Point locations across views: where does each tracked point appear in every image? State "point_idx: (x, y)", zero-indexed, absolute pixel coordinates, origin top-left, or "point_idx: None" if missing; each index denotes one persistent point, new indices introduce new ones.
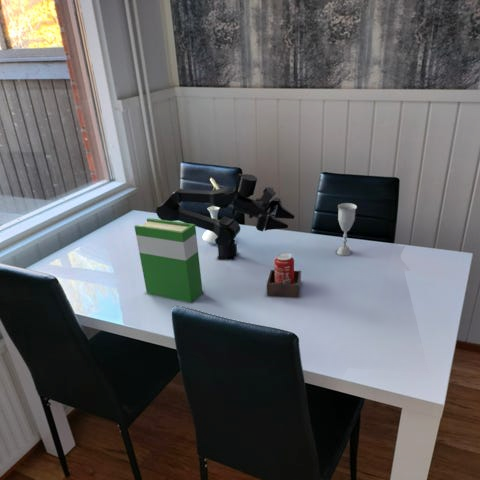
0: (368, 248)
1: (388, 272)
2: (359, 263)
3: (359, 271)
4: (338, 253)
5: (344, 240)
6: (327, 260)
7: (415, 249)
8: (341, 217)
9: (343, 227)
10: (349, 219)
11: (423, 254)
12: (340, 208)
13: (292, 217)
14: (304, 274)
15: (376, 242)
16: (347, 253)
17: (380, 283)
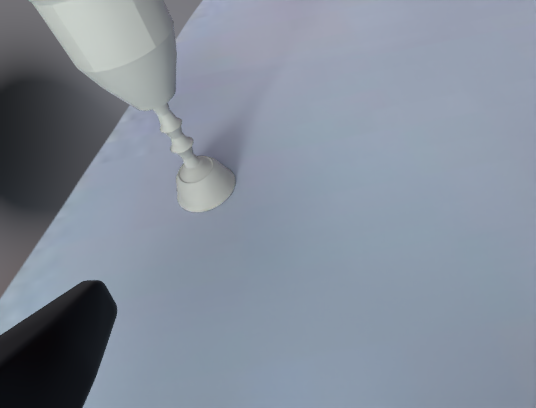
0: None
1: (365, 48)
2: (308, 123)
3: (384, 108)
4: (218, 203)
5: (187, 141)
6: (296, 232)
7: (189, 40)
8: (142, 20)
9: (170, 76)
10: (164, 3)
11: (223, 23)
12: (46, 11)
13: (101, 317)
14: (527, 312)
15: (123, 120)
16: (226, 168)
17: (465, 43)
